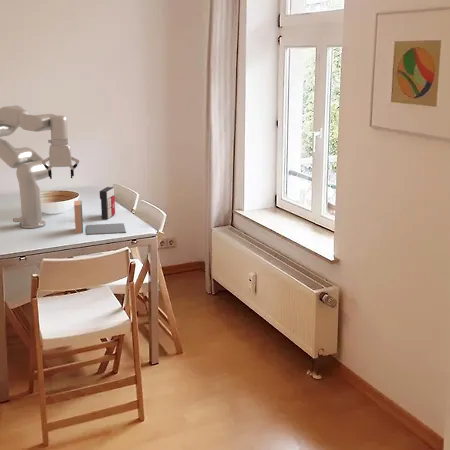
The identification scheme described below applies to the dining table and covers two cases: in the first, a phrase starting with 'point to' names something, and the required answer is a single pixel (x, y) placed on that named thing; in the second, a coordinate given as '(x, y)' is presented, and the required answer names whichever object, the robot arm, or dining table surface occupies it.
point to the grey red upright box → (107, 202)
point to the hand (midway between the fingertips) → (61, 178)
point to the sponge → (78, 216)
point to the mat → (106, 228)
